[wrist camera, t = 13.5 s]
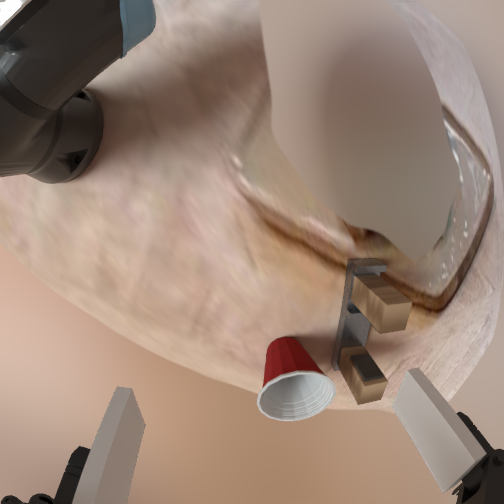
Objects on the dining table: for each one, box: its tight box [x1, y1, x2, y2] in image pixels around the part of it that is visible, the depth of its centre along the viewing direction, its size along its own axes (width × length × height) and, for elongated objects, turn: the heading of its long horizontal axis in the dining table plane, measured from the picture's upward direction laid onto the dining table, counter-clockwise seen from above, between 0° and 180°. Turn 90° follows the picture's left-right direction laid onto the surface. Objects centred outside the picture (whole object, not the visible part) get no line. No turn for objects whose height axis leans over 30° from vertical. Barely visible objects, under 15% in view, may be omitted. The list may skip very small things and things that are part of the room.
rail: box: [331, 258, 387, 371], centre depth 41 cm, size 20×5×4 cm, turn 179°
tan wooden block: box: [351, 275, 412, 334], centre depth 35 cm, size 4×4×10 cm
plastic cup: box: [257, 337, 336, 421], centre depth 38 cm, size 11×11×12 cm
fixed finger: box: [338, 345, 388, 405], centre depth 38 cm, size 4×4×10 cm
